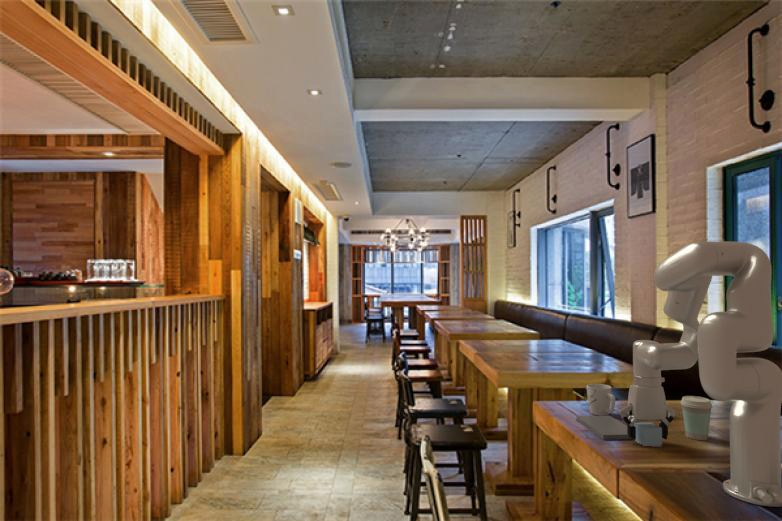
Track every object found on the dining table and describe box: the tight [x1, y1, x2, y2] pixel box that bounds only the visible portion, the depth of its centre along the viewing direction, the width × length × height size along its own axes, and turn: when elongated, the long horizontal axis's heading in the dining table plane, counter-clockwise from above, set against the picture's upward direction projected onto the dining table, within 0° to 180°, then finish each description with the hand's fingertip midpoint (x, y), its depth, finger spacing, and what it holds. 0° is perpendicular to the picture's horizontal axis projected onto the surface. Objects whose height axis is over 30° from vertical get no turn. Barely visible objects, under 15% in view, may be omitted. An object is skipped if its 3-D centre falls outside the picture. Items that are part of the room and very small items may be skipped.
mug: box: [586, 383, 616, 416], centre depth 180 cm, size 11×8×10 cm
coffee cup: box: [680, 395, 713, 441], centre depth 155 cm, size 8×8×12 cm
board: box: [576, 415, 632, 441], centre depth 163 cm, size 20×12×2 cm, turn 2°
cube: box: [634, 421, 663, 447], centre depth 150 cm, size 6×6×6 cm
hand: (647, 438), depth 150 cm, fingers open, 9 cm apart
